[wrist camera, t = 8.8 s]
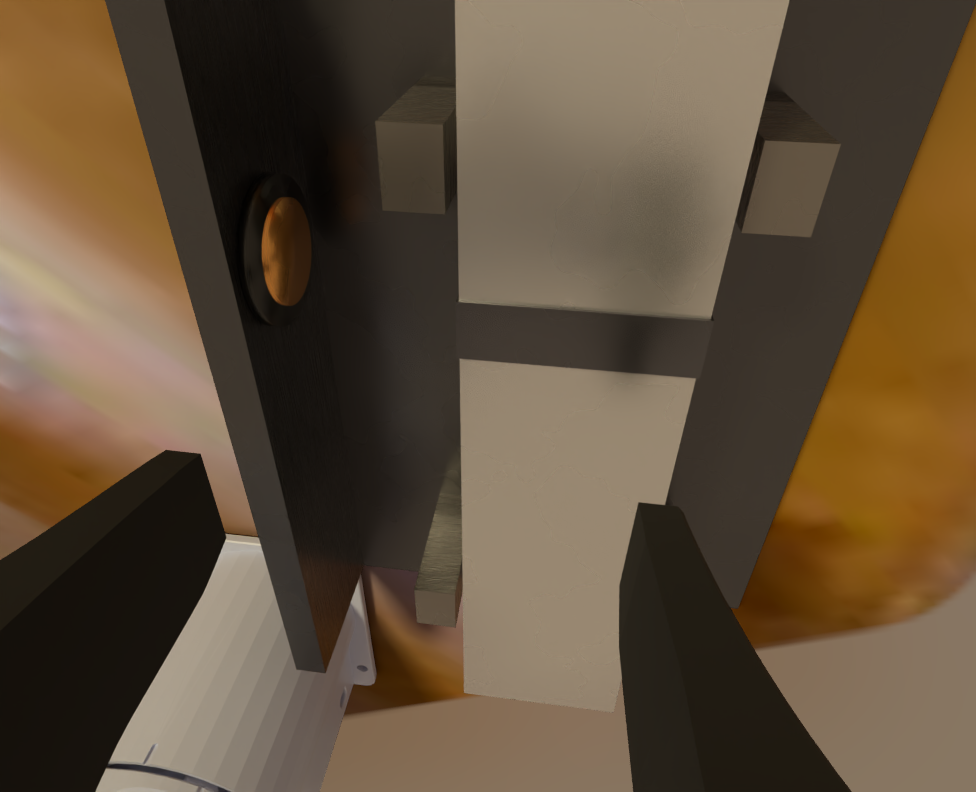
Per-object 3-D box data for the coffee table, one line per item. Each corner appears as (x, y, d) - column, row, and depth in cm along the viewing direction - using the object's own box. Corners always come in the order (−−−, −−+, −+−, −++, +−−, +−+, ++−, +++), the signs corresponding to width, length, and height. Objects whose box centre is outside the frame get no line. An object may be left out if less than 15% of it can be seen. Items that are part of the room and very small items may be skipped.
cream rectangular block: (611, 588, 23) (615, 715, 19) (482, 573, 23) (462, 694, 19) (766, -183, 11) (853, -231, 7) (493, -183, 11) (446, -230, 8)
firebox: (733, 586, 25) (763, 731, 20) (346, 542, 26) (296, 669, 22) (975, -62, 13) (1175, -51, 8) (241, -77, 14) (84, -74, 10)
